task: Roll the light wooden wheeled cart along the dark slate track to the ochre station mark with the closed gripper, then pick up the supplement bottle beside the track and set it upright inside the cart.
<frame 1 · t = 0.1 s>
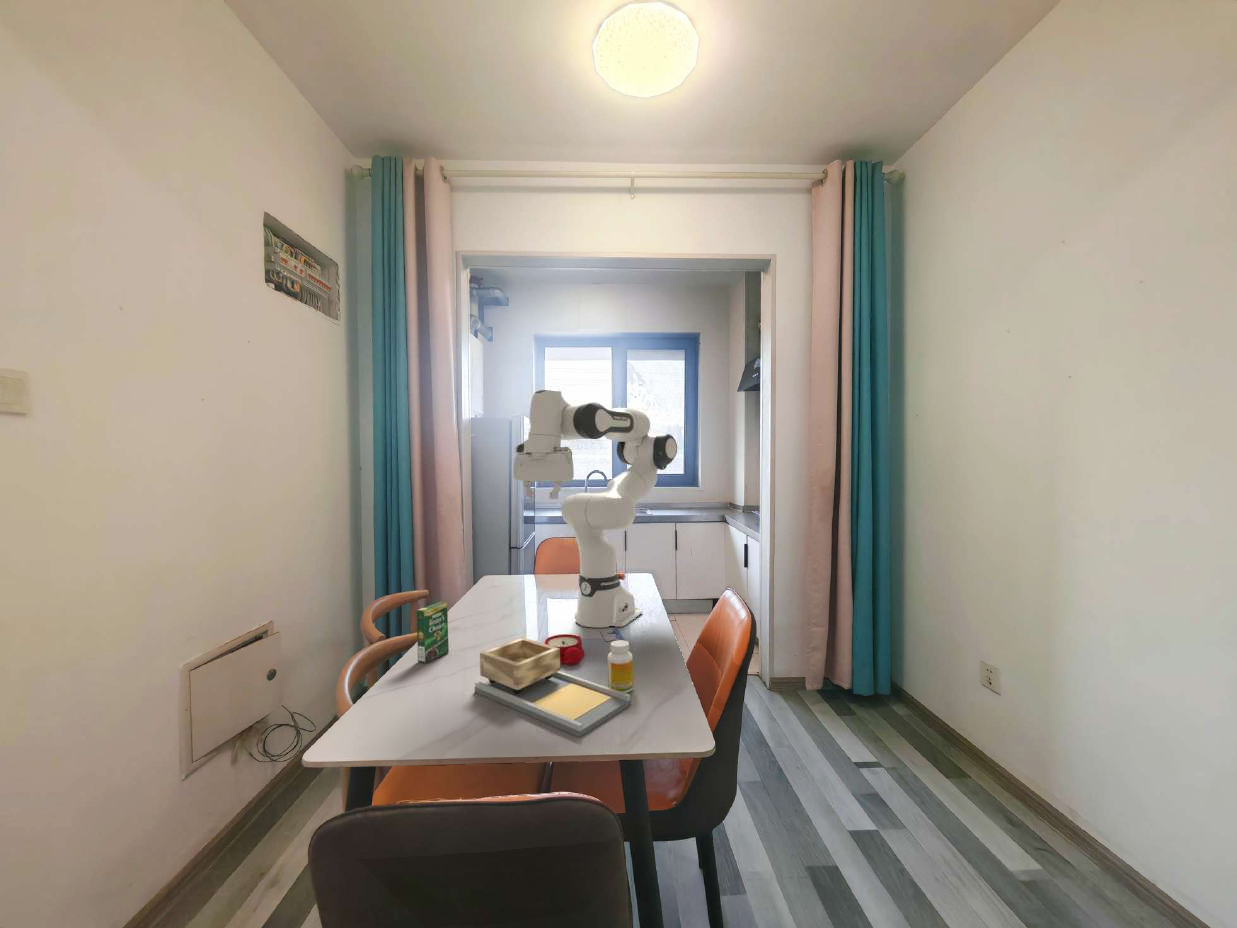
hand: (541, 498, 137), 39 cm above the table, tool pointing down, fingers open, 8 cm apart
wheeled cart: (520, 665, 110), point 5 cm above the table, slide at 0.0 cm
coffee box: (433, 658, 127), on the table
alarm clock: (562, 660, 126), on the table
track board: (550, 698, 104), on the table
supplement bottle: (620, 689, 108), on the table
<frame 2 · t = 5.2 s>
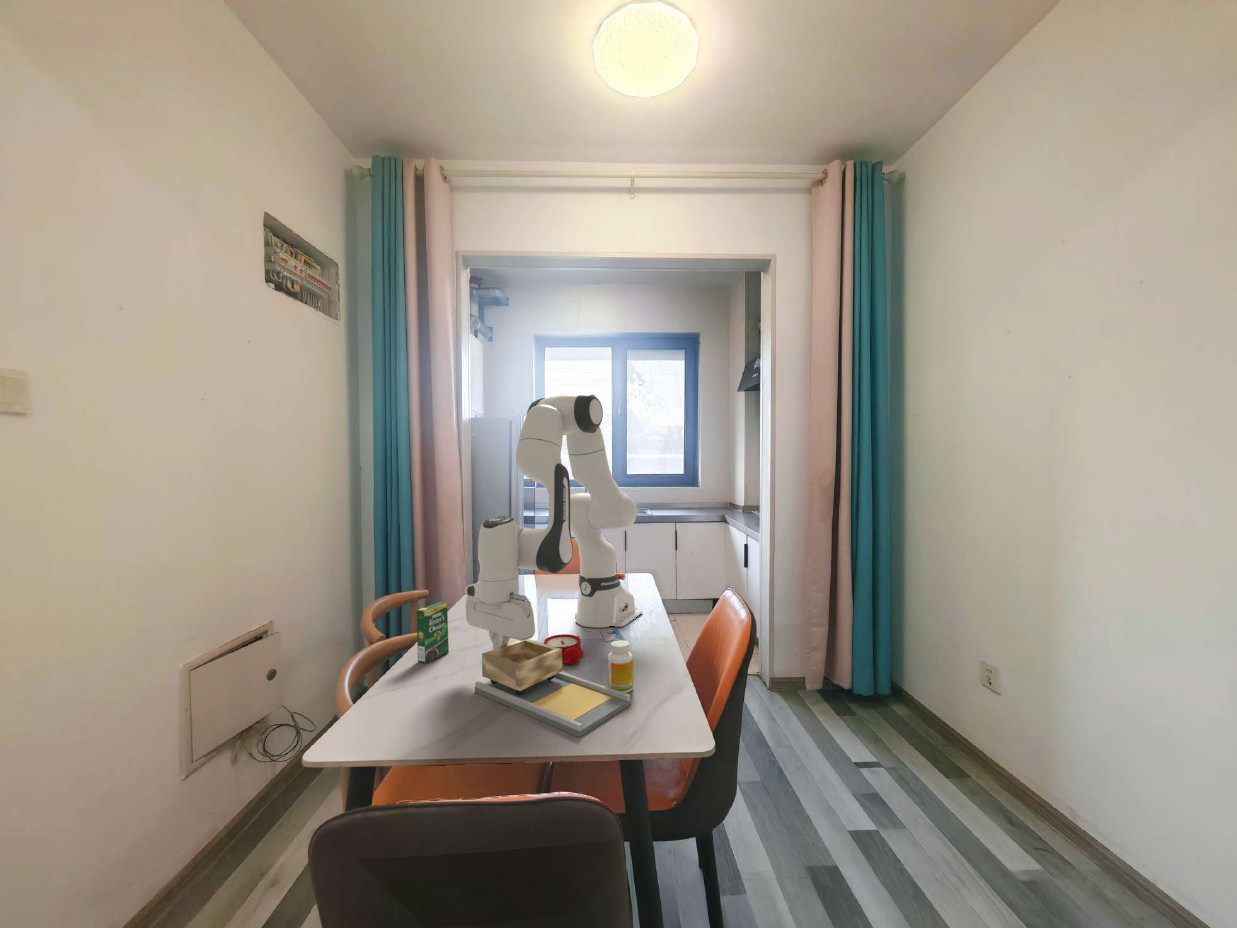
hand: (499, 651, 114), 6 cm above the table, tool pointing down, fingers closed
wheeled cart: (522, 666, 109), point 5 cm above the table, slide at 0.7 cm, touching gripper
everything else where it was.
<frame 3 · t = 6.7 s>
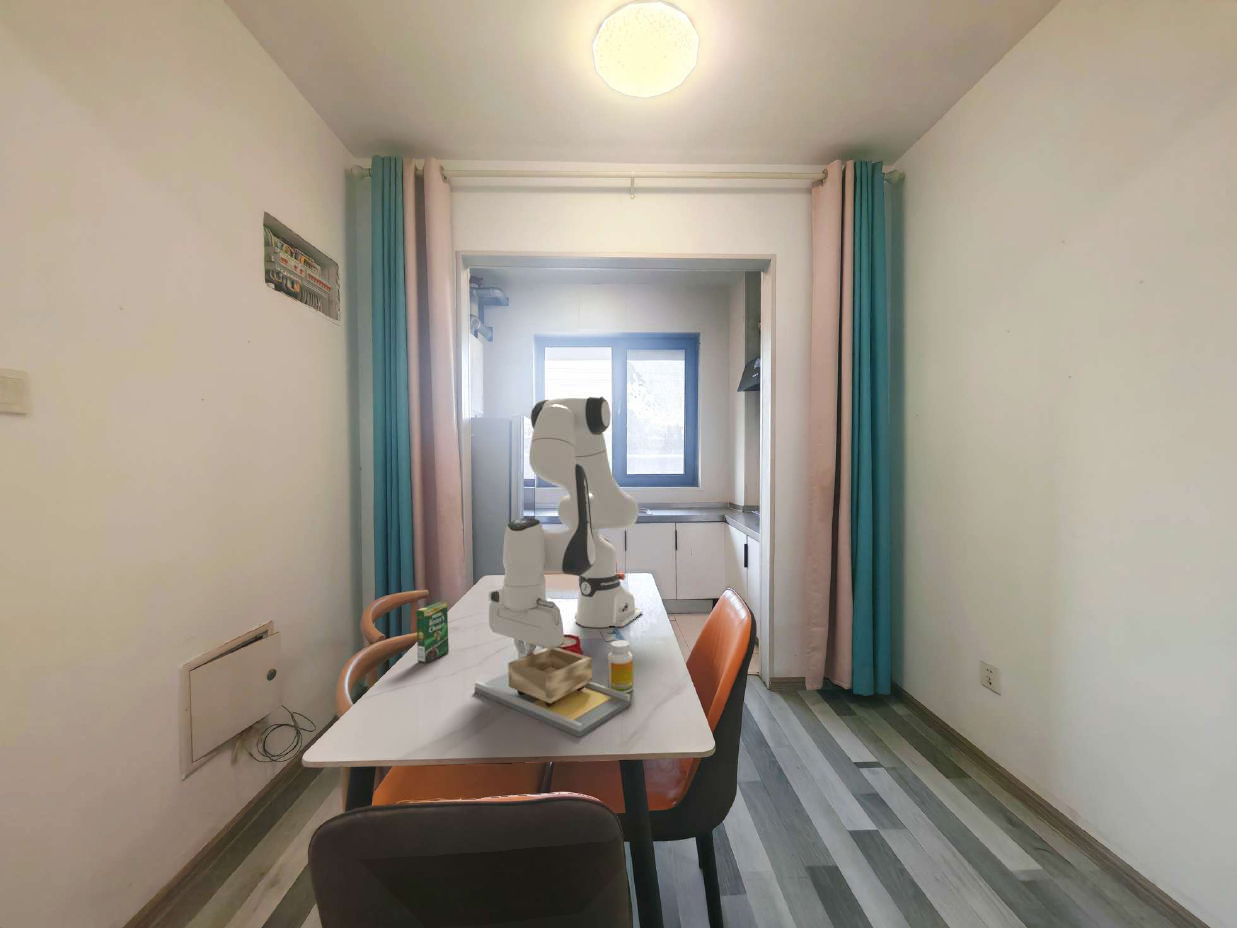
hand: (525, 660, 108), 6 cm above the table, tool pointing down, fingers closed
wheeled cart: (550, 676, 104), point 5 cm above the table, slide at 9.3 cm, touching gripper
everything else where it was.
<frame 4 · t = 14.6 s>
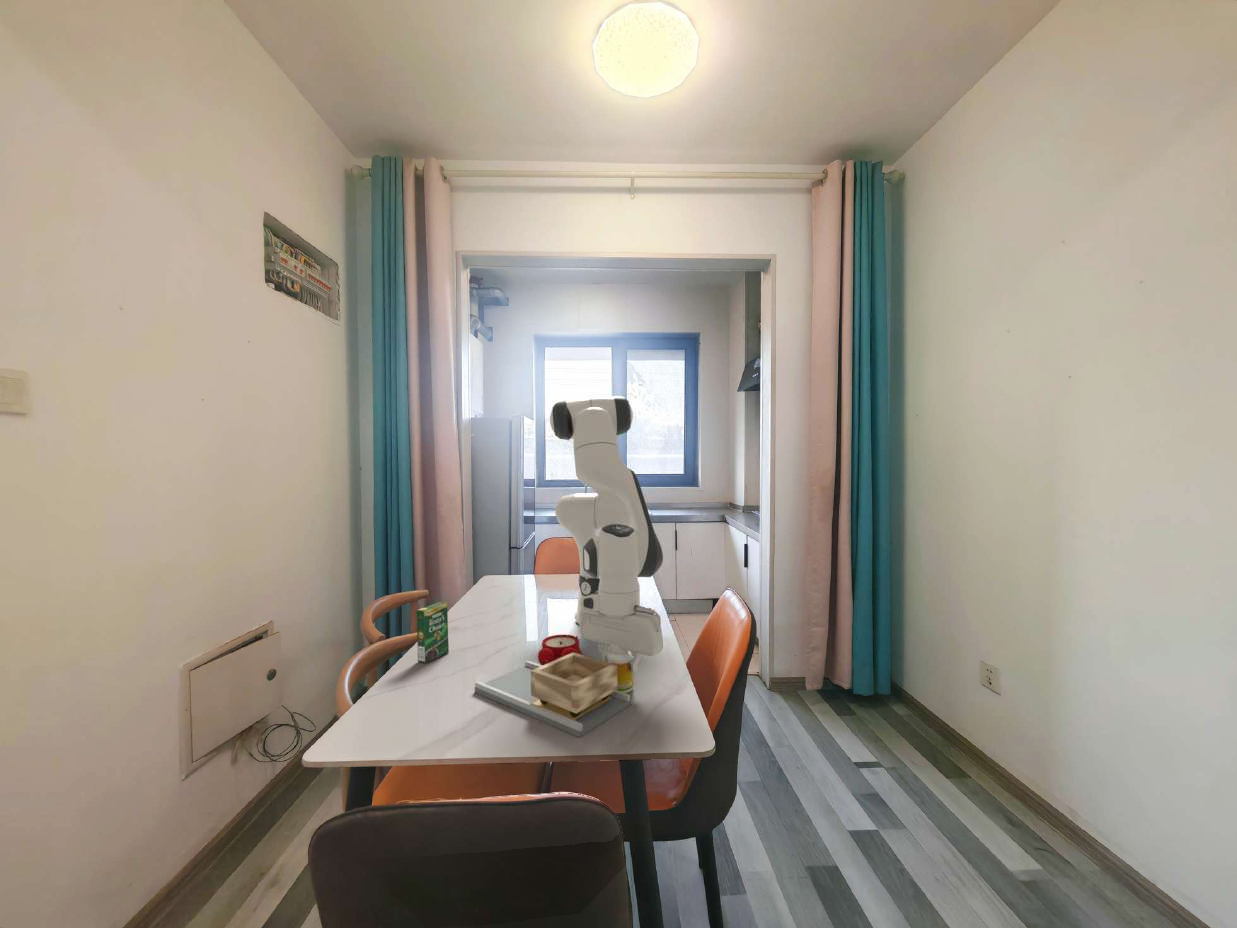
hand: (620, 666, 108), 5 cm above the table, tool pointing down, fingers closed on supplement bottle, 5 cm apart
wheeled cart: (574, 684, 100), point 5 cm above the table, slide at 15.9 cm
supplement bottle: (620, 689, 108), on the table, touching gripper
everything else where it was.
when the fingers open (9 cm above the table, at t = 21.3 s): supplement bottle stays where it is, resting on wheeled cart.
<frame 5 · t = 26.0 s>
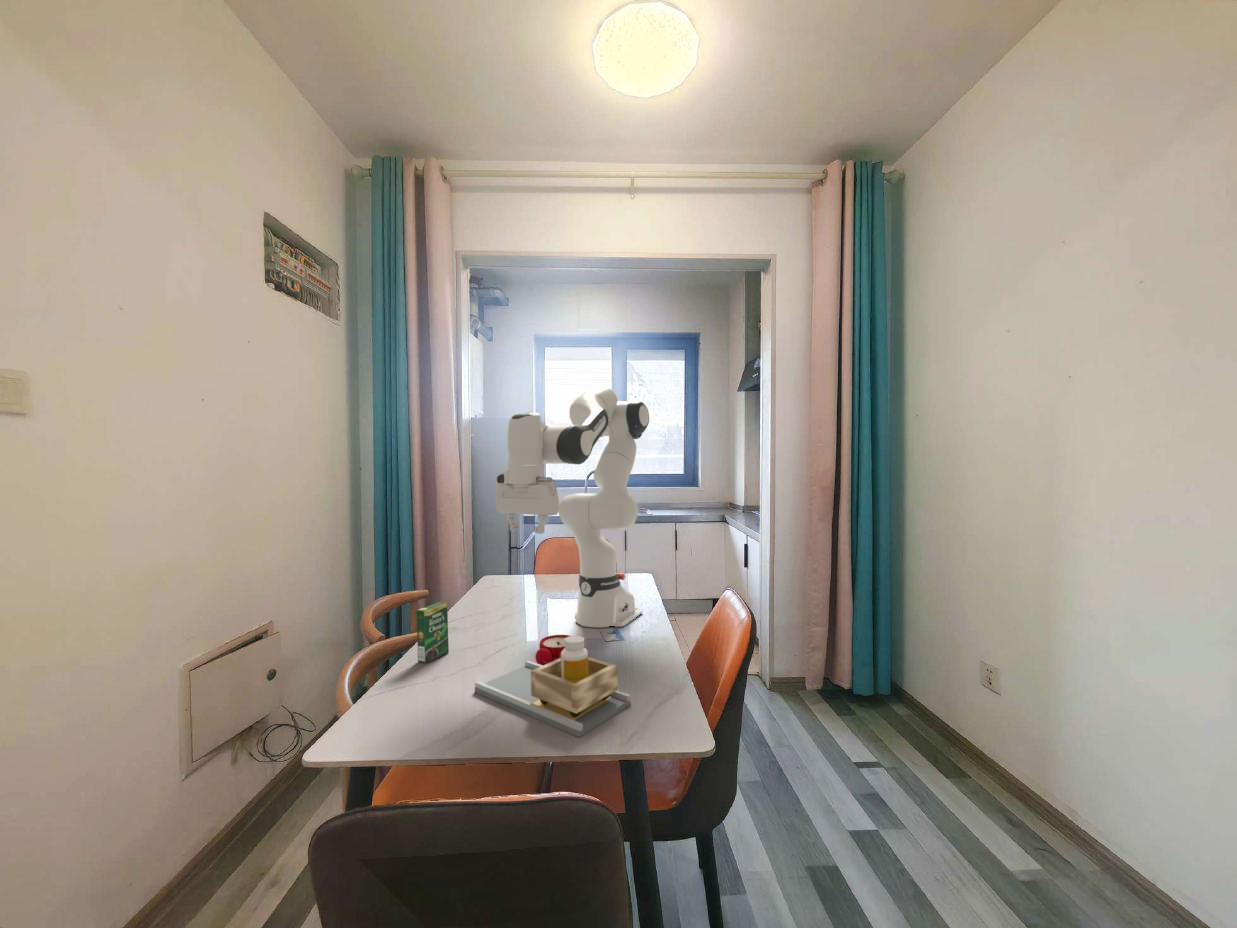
hand: (526, 532, 127), 31 cm above the table, tool pointing down, fingers open, 8 cm apart
wheeled cart: (574, 684, 100), point 5 cm above the table, slide at 16.0 cm, touching supplement bottle
supplement bottle: (575, 689, 100), point 4 cm above the table, touching wheeled cart
at the end: wheeled cart slide at 16.0 cm; supplement bottle inside the target area (0.4 cm from its centre), point 3.6 cm above the table; supplement bottle tilted 0° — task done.
